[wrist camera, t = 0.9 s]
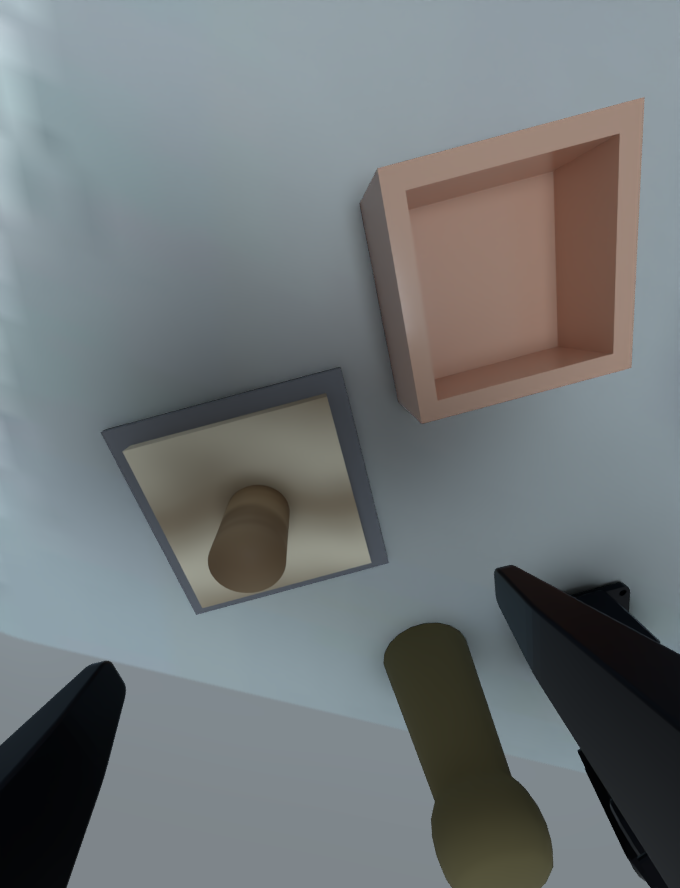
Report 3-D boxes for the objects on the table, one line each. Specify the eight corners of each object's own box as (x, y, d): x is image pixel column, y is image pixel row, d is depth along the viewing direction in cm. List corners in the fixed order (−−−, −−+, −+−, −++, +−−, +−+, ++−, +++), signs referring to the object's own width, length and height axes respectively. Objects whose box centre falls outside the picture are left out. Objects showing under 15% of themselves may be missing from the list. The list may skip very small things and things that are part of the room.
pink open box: (565, 356, 19) (631, 367, 15) (397, 401, 19) (421, 423, 15) (561, 149, 15) (644, 97, 12) (359, 203, 15) (377, 168, 12)
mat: (387, 558, 22) (388, 562, 22) (198, 609, 22) (196, 614, 22) (340, 367, 18) (340, 368, 17) (105, 429, 18) (100, 432, 17)
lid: (369, 554, 21) (386, 618, 17) (206, 597, 21) (179, 674, 17) (326, 393, 18) (333, 420, 13) (130, 445, 18) (70, 490, 13)
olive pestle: (369, 645, 24) (417, 889, 14) (451, 609, 24) (563, 834, 14) (402, 697, 26) (464, 942, 16) (478, 665, 26) (591, 896, 16)
